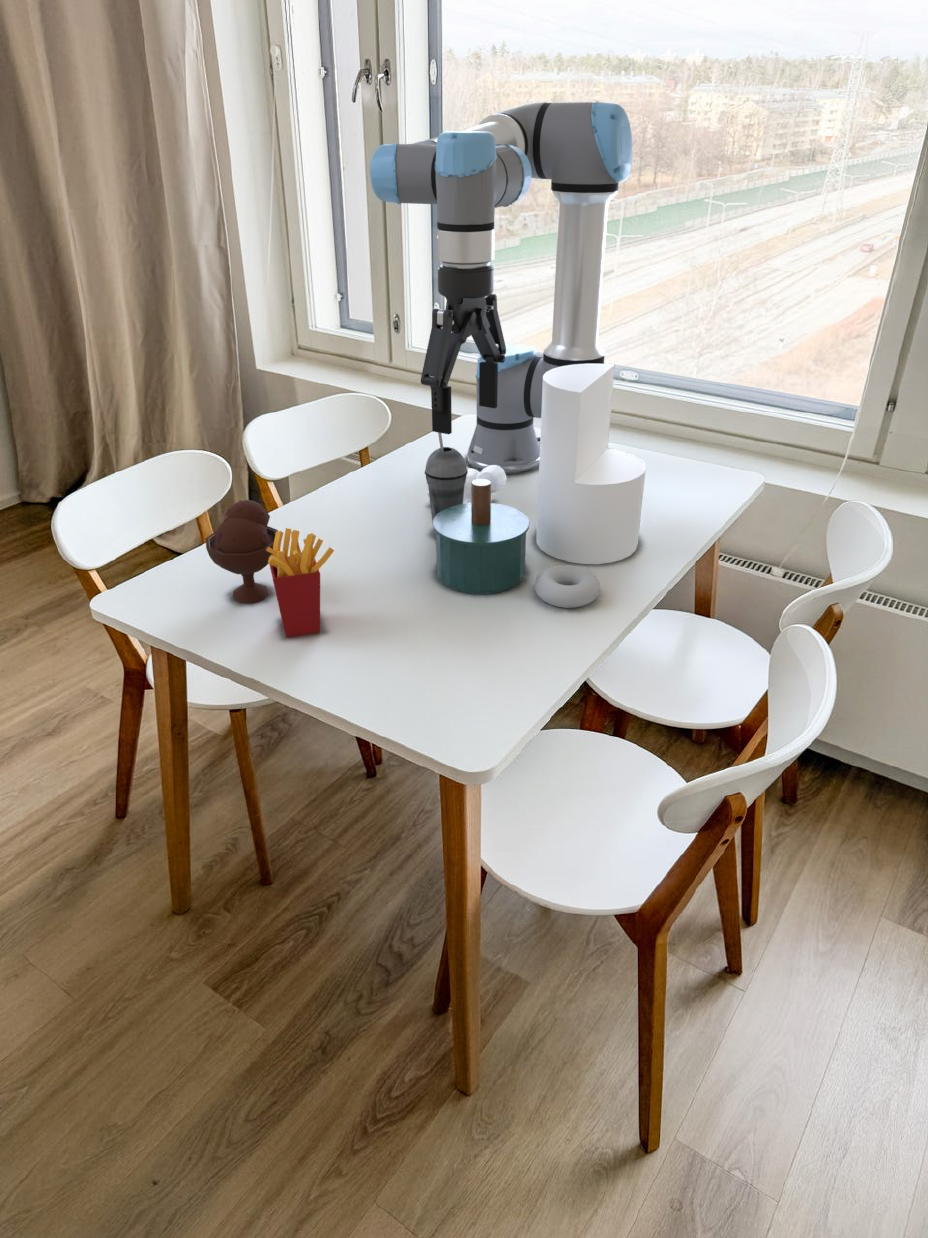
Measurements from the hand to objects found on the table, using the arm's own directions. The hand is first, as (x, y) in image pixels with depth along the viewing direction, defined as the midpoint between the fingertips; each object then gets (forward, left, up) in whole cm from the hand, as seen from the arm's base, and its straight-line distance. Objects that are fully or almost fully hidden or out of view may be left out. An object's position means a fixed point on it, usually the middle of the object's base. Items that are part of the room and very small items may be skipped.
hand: (466, 419), depth 128 cm
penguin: (-23, -13, -25) cm, 37 cm away
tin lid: (-1, +2, -17) cm, 17 cm away
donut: (-2, +17, -25) cm, 31 cm away
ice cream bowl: (+23, -24, -25) cm, 42 cm away
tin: (-1, +2, -25) cm, 25 cm away
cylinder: (-21, +12, -25) cm, 35 cm away
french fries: (+25, -11, -25) cm, 38 cm away
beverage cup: (-11, -10, -25) cm, 29 cm away
